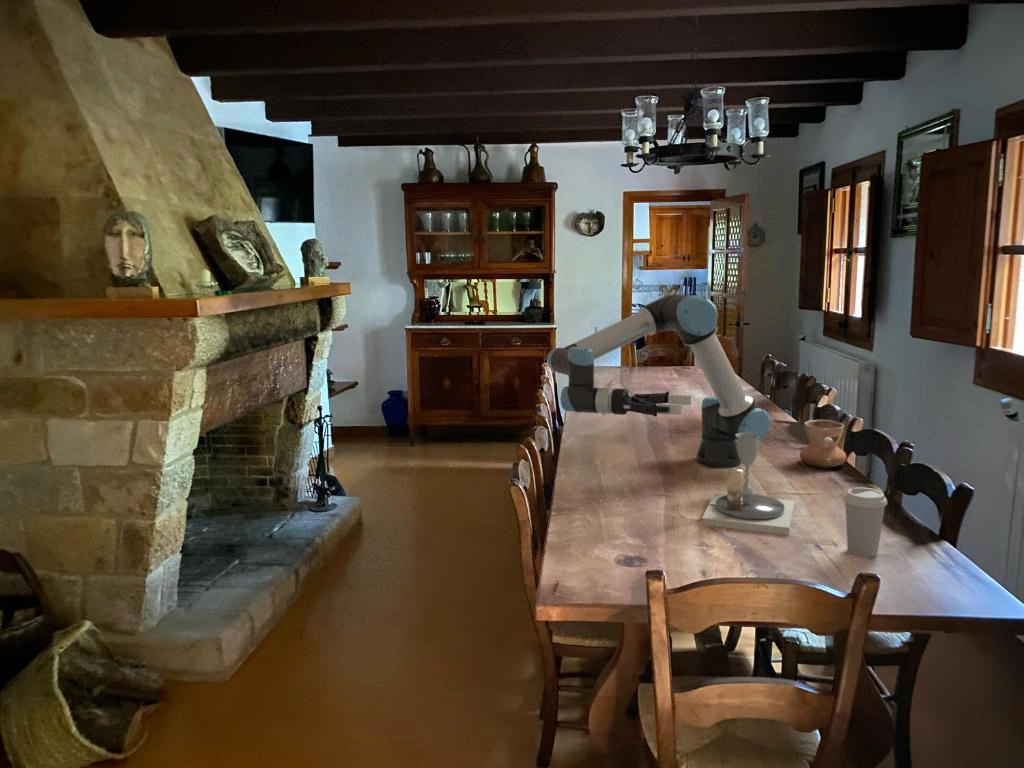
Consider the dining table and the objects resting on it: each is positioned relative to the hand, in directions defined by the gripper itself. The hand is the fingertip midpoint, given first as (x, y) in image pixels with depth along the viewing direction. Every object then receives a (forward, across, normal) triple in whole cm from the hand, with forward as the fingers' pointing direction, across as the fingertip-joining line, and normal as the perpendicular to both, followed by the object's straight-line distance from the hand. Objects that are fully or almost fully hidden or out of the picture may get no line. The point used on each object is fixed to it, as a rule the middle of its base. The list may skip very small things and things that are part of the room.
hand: (686, 404), depth 211 cm
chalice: (+15, -18, -30) cm, 38 cm away
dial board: (+18, +2, -30) cm, 35 cm away
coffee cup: (+46, +19, -30) cm, 58 cm away
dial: (+18, +2, -28) cm, 33 cm away
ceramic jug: (+35, -57, -30) cm, 73 cm away
